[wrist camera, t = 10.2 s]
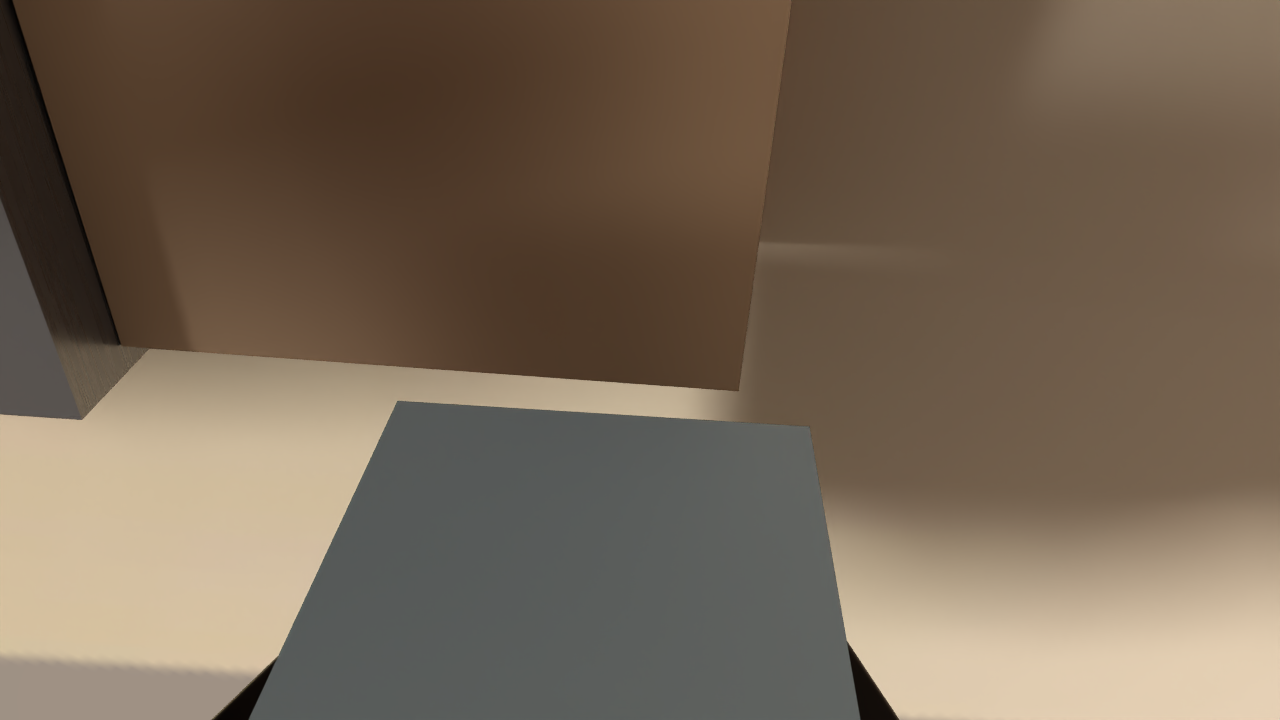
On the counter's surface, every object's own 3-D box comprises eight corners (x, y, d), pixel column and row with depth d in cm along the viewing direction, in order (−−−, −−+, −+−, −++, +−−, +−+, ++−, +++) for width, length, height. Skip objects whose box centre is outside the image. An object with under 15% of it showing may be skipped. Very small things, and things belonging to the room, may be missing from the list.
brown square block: (265, 200, 12) (121, 346, 9) (150, -401, 8) (-141, -486, 5) (728, 232, 12) (737, 391, 9) (796, -362, 8) (850, -429, 5)
